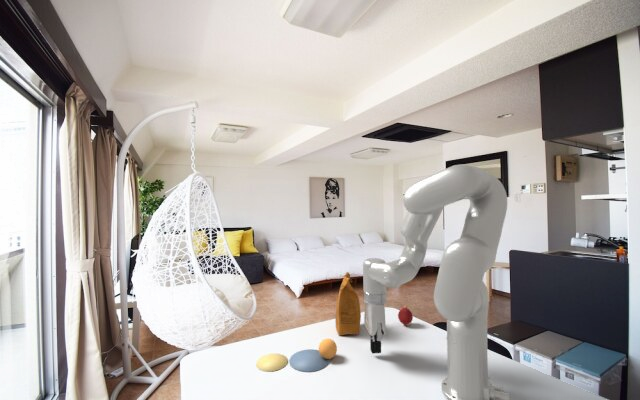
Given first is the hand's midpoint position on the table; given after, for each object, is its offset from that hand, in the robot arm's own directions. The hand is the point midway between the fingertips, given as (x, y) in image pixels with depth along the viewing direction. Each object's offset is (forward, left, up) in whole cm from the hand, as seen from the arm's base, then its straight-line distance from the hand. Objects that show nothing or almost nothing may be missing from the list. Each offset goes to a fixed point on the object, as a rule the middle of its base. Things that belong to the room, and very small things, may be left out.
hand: (375, 351), depth 96 cm
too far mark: (+28, +20, -2) cm, 34 cm away
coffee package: (+16, -14, -2) cm, 22 cm away
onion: (-3, -29, -2) cm, 29 cm away
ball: (+13, +8, +2) cm, 16 cm away
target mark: (+18, +13, -2) cm, 22 cm away
